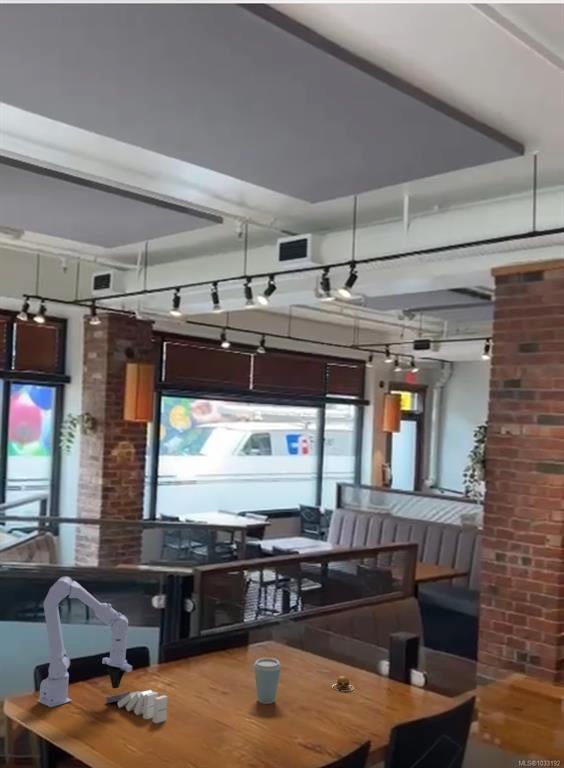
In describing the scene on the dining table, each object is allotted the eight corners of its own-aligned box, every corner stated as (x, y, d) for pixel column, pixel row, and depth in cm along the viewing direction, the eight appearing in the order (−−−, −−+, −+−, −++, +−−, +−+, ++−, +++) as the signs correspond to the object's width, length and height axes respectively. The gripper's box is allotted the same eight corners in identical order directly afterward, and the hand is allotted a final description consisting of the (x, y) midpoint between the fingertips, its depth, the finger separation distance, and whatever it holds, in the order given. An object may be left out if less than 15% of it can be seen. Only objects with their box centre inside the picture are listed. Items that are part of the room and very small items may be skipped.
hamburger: (359, 687, 317) (360, 674, 317) (354, 696, 305) (355, 682, 306) (331, 683, 320) (332, 670, 320) (325, 692, 308) (326, 678, 309)
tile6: (156, 723, 263) (158, 699, 263) (152, 721, 264) (154, 698, 265) (166, 720, 266) (167, 696, 267) (162, 718, 268) (163, 695, 268)
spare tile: (107, 703, 279) (120, 700, 275) (106, 697, 280) (120, 694, 276) (116, 700, 283) (130, 697, 278) (115, 694, 283) (129, 691, 279)
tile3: (128, 711, 272) (139, 698, 269) (125, 706, 273) (136, 693, 270) (137, 708, 276) (148, 695, 273) (135, 704, 277) (146, 690, 274)
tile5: (146, 719, 266) (148, 695, 266) (142, 717, 267) (144, 694, 268) (156, 716, 269) (158, 693, 270) (152, 714, 271) (154, 691, 271)
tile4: (137, 715, 269) (144, 696, 268) (133, 711, 270) (141, 692, 269) (146, 712, 272) (154, 693, 271) (143, 708, 274) (150, 689, 272)
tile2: (119, 708, 275) (131, 698, 271) (117, 702, 276) (129, 693, 272) (128, 705, 278) (141, 696, 275) (126, 699, 279) (139, 690, 276)
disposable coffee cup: (276, 707, 285) (278, 666, 287) (248, 703, 288) (250, 663, 289) (281, 698, 296) (284, 658, 297) (254, 694, 298) (257, 655, 299)
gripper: (139, 652, 280) (136, 690, 279) (113, 643, 289) (111, 680, 288) (124, 655, 275) (121, 694, 274) (99, 647, 284) (96, 684, 283)
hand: (115, 687), depth 281 cm, fingers closed
